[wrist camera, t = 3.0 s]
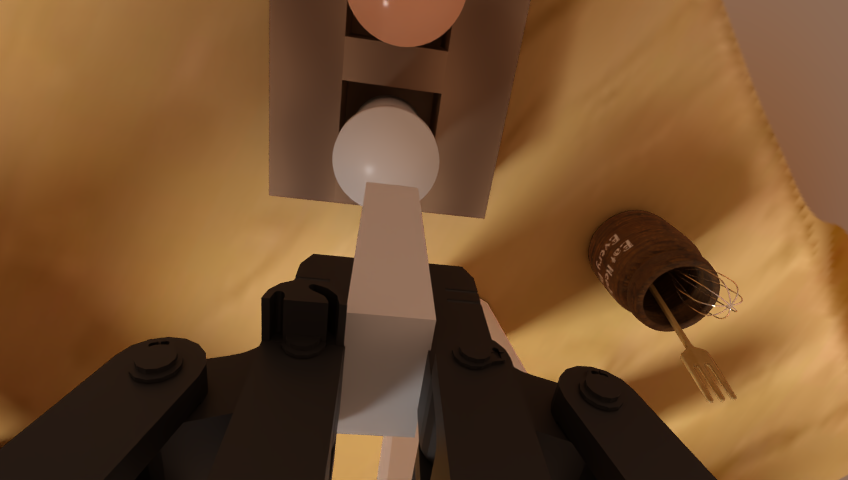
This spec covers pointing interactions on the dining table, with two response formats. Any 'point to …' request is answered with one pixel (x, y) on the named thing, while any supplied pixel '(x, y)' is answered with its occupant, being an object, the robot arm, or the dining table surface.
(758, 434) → the dining table surface
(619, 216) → the utensil holder
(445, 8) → the terracotta plug
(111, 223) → the dining table surface
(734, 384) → the dining table surface
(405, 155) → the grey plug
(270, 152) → the wooden peg tray
